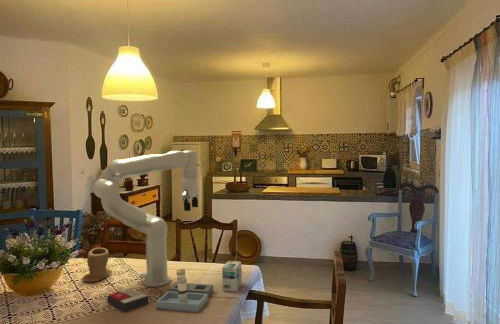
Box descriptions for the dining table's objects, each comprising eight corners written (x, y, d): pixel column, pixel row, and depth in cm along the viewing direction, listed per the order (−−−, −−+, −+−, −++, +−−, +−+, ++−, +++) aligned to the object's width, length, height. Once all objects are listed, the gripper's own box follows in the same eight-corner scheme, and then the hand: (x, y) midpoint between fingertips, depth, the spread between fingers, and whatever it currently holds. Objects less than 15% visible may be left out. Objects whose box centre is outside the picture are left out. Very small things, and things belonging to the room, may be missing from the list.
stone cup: (99, 284, 187) (98, 253, 186) (78, 282, 190) (77, 252, 189) (118, 274, 201) (117, 245, 201) (99, 272, 205) (97, 243, 204)
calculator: (130, 287, 174) (148, 294, 163) (131, 296, 174) (149, 304, 163) (106, 294, 166) (124, 302, 155) (107, 304, 166) (124, 313, 155)
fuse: (175, 294, 173) (175, 271, 172) (179, 290, 177) (178, 269, 176) (183, 294, 172) (183, 272, 172) (187, 291, 176) (186, 269, 175)
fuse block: (168, 295, 172) (168, 288, 171) (175, 288, 179) (175, 282, 179) (207, 298, 168) (207, 291, 167) (213, 291, 175) (213, 284, 175)
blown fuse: (176, 304, 160) (175, 280, 159) (180, 300, 164) (179, 277, 163) (185, 305, 159) (184, 280, 159) (188, 301, 163) (188, 277, 162)
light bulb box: (236, 292, 174) (236, 268, 173) (222, 291, 175) (221, 267, 174) (242, 283, 184) (241, 261, 184) (228, 282, 185) (227, 260, 185)
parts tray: (156, 308, 158) (156, 301, 158) (168, 298, 169) (167, 291, 169) (198, 312, 154) (198, 304, 154) (207, 300, 165) (207, 293, 165)
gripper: (189, 173, 206) (191, 205, 207) (175, 176, 189) (177, 212, 190) (203, 173, 204) (204, 206, 205) (190, 176, 187) (191, 212, 188)
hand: (191, 208), depth 198 cm, fingers open, 9 cm apart
